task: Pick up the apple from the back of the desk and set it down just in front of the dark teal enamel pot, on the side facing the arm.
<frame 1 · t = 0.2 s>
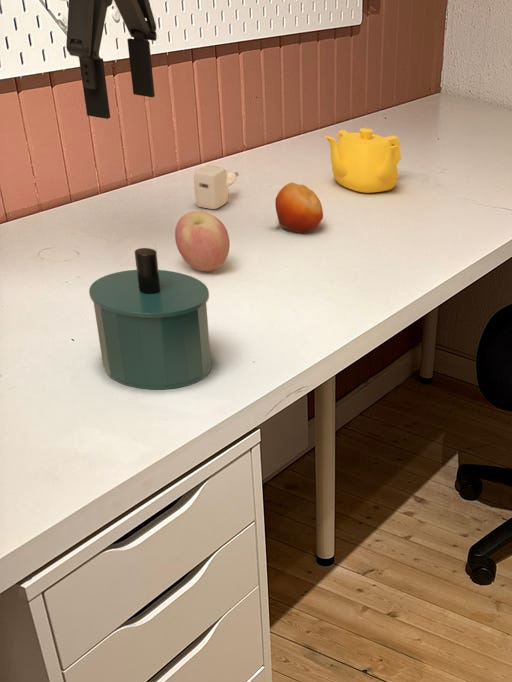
hand: (122, 106, 126), 22 cm above the table, tool pointing down, fingers open, 13 cm apart
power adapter: (218, 202, 168), on the table
apple: (204, 270, 144), on the table
pot lid: (150, 294, 113), point 9 cm above the table, touching pot
pot: (158, 366, 118), on the table
fruit: (299, 230, 162), on the table
teapot: (364, 188, 183), on the table
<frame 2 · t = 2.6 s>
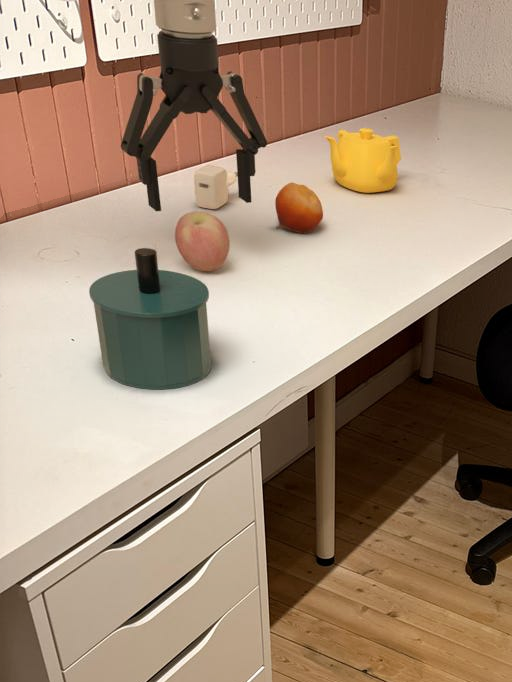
hand: (201, 204, 138), 9 cm above the table, tool pointing down, fingers open, 13 cm apart
nothing on the table moved.
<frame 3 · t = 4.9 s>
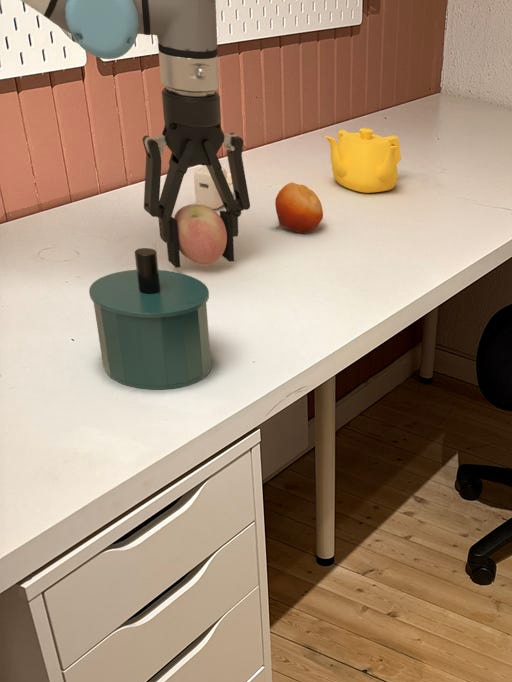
hand: (201, 260, 143), 1 cm above the table, tool pointing down, fingers closed on apple, 8 cm apart
apple: (201, 264, 143), point 1 cm above the table, touching gripper
everything else where it was.
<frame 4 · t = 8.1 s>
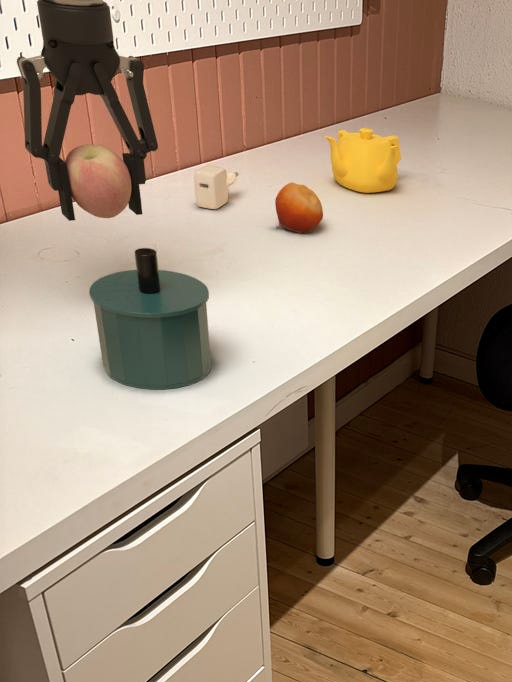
hand: (102, 213, 120), 13 cm above the table, tool pointing down, fingers closed on apple, 8 cm apart
apple: (103, 217, 120), point 13 cm above the table, touching gripper
everything else where it was.
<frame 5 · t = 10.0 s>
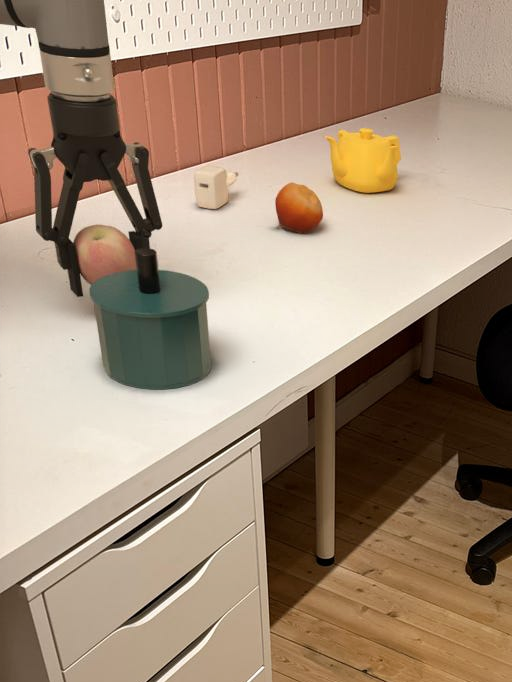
hand: (109, 288, 125), 4 cm above the table, tool pointing down, fingers closed on apple, 8 cm apart
apple: (110, 292, 126), point 3 cm above the table, touching gripper
everything else where it was.
when the fingers open (0 cm above the table, at t = 11.4 s): apple stays where it is, on the table.
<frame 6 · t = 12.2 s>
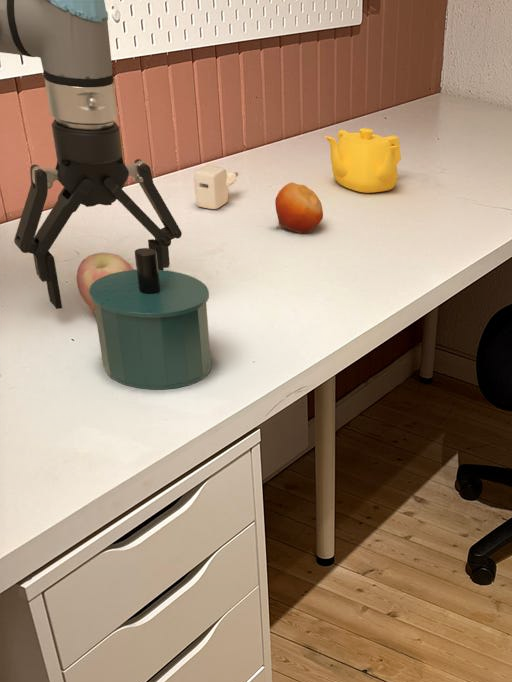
hand: (109, 298, 126), 2 cm above the table, tool pointing down, fingers open, 13 cm apart
apple: (113, 318, 128), on the table
everything else where it was.
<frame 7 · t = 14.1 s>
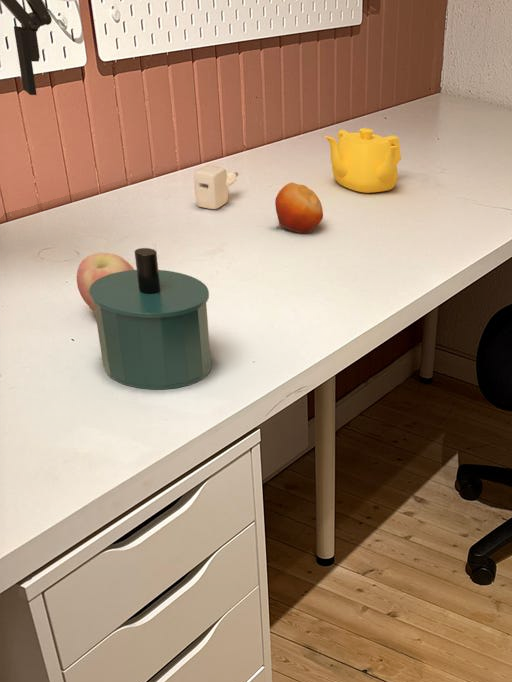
nothing on the table moved.
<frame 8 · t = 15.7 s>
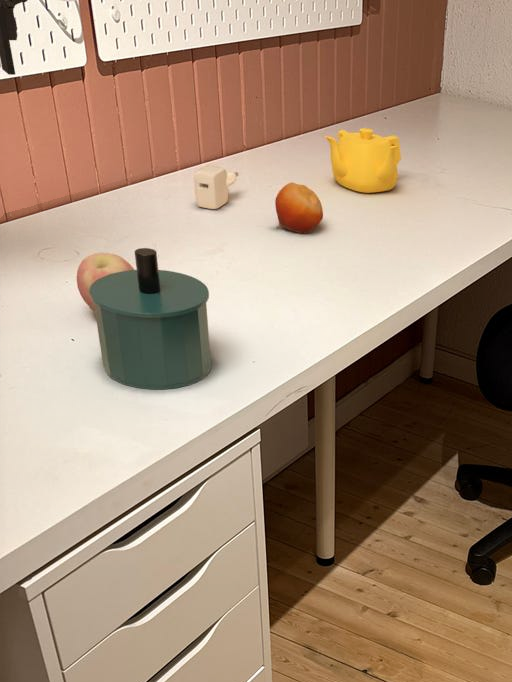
nothing on the table moved.
at the end: apple inside the target area on the table beside the pot (0.5 cm from its centre), on the table; the gripper is holding nothing; apple moved 21.6 cm from its start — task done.
